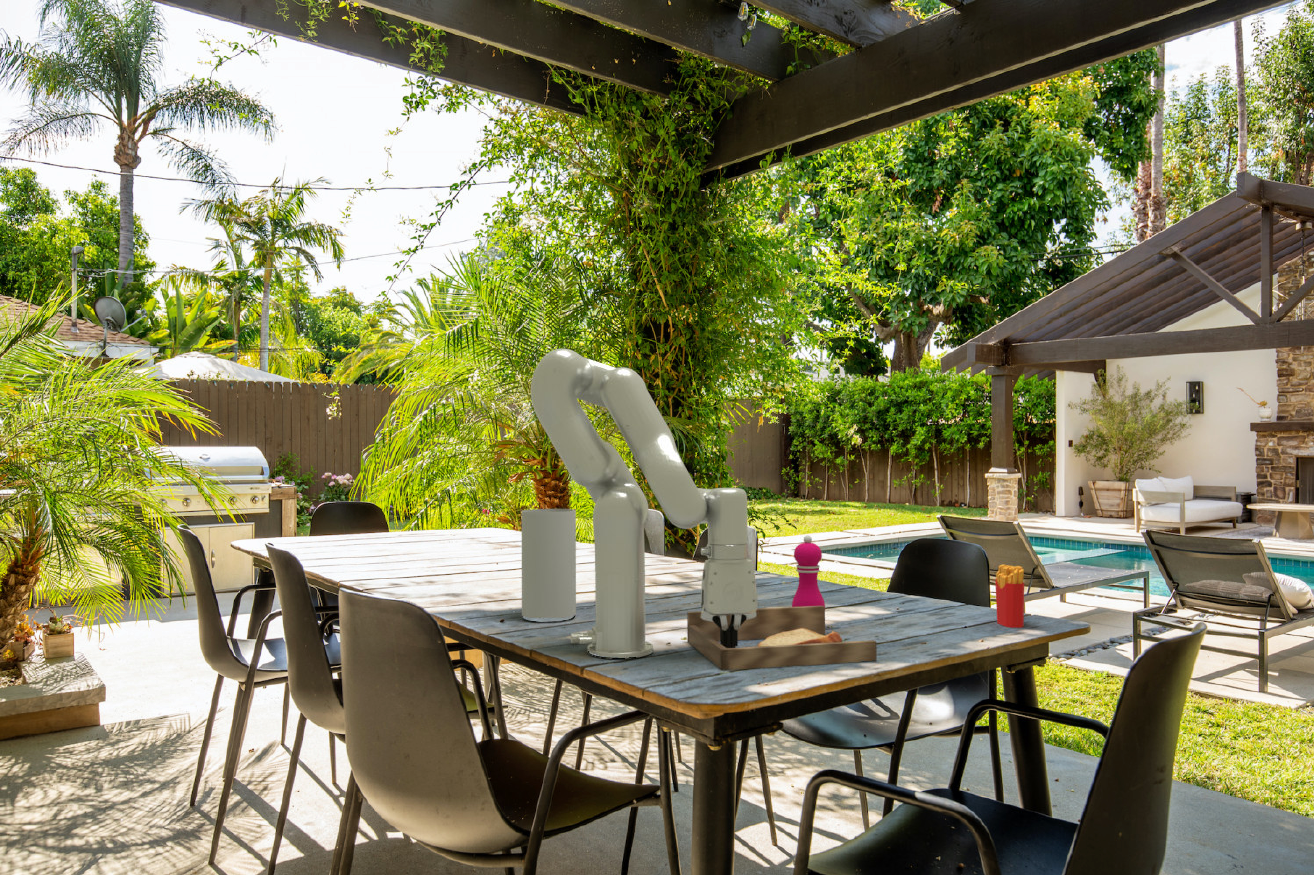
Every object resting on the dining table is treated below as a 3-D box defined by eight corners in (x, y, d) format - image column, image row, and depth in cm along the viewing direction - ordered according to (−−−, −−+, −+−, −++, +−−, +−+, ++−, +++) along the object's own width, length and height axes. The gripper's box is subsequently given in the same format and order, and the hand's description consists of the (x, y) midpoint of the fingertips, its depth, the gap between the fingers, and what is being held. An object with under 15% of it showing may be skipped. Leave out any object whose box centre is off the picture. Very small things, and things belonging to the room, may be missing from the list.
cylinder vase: (556, 611, 212) (556, 508, 212) (586, 618, 202) (586, 510, 203) (511, 617, 204) (511, 510, 204) (540, 625, 194) (540, 512, 195)
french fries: (992, 621, 196) (991, 563, 196) (1011, 620, 196) (1010, 562, 197) (1010, 629, 187) (1009, 568, 187) (1030, 628, 187) (1029, 568, 187)
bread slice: (759, 663, 159) (759, 642, 159) (748, 642, 177) (747, 623, 177) (857, 662, 159) (857, 641, 159) (836, 641, 177) (836, 622, 177)
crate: (722, 670, 152) (721, 635, 152) (687, 641, 176) (687, 611, 176) (876, 660, 159) (876, 627, 159) (822, 634, 182) (822, 605, 182)
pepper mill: (825, 631, 186) (824, 537, 186) (791, 630, 187) (790, 536, 188) (825, 624, 193) (824, 534, 193) (792, 623, 194) (791, 533, 195)
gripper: (694, 556, 160) (695, 656, 160) (772, 553, 164) (773, 652, 163) (684, 552, 168) (685, 648, 167) (758, 549, 171) (760, 644, 170)
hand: (729, 649), depth 165 cm, fingers closed
